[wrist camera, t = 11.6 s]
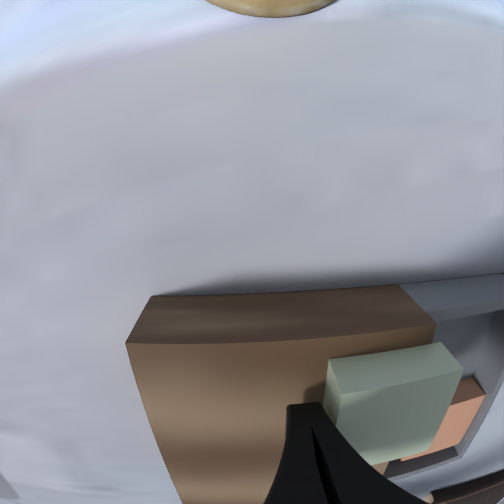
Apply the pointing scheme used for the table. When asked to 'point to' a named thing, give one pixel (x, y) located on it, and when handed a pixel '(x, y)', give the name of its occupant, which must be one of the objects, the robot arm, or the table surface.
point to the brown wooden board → (252, 375)
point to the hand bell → (271, 7)
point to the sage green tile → (391, 399)
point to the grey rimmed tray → (462, 349)
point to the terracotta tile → (456, 417)
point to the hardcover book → (471, 491)
